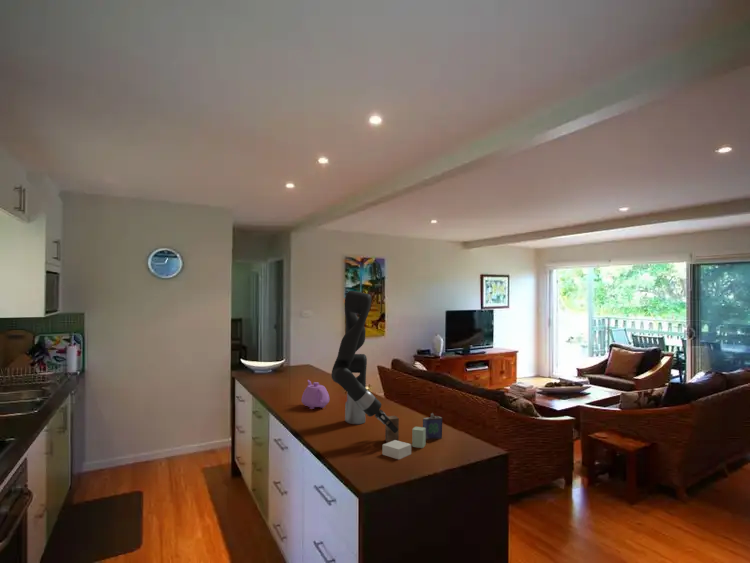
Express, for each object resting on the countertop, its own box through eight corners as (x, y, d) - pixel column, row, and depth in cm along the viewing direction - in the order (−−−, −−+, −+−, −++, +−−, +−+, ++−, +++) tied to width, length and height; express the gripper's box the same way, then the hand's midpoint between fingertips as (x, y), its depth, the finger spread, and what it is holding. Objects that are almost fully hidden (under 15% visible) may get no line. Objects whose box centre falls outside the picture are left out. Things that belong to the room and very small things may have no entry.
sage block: (412, 446, 172) (412, 429, 173) (414, 443, 177) (415, 426, 177) (422, 448, 171) (423, 430, 171) (425, 444, 175) (425, 427, 176)
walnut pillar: (388, 443, 176) (388, 419, 177) (385, 439, 181) (385, 416, 181) (398, 442, 177) (398, 418, 178) (395, 439, 182) (395, 415, 182)
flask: (424, 440, 181) (424, 415, 181) (421, 438, 184) (421, 413, 184) (443, 438, 184) (443, 413, 184) (440, 436, 186) (440, 412, 187)
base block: (382, 455, 163) (382, 444, 163) (394, 450, 169) (395, 439, 169) (398, 460, 158) (399, 449, 158) (411, 454, 164) (411, 444, 164)
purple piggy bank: (295, 404, 243) (295, 380, 244) (320, 401, 250) (321, 378, 251) (308, 412, 224) (308, 386, 224) (335, 409, 231) (335, 384, 232)
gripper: (378, 399, 171) (404, 426, 173) (369, 392, 185) (394, 417, 187) (365, 413, 169) (392, 440, 172) (357, 405, 183) (382, 430, 185)
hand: (393, 428), depth 179 cm, fingers open, 8 cm apart
